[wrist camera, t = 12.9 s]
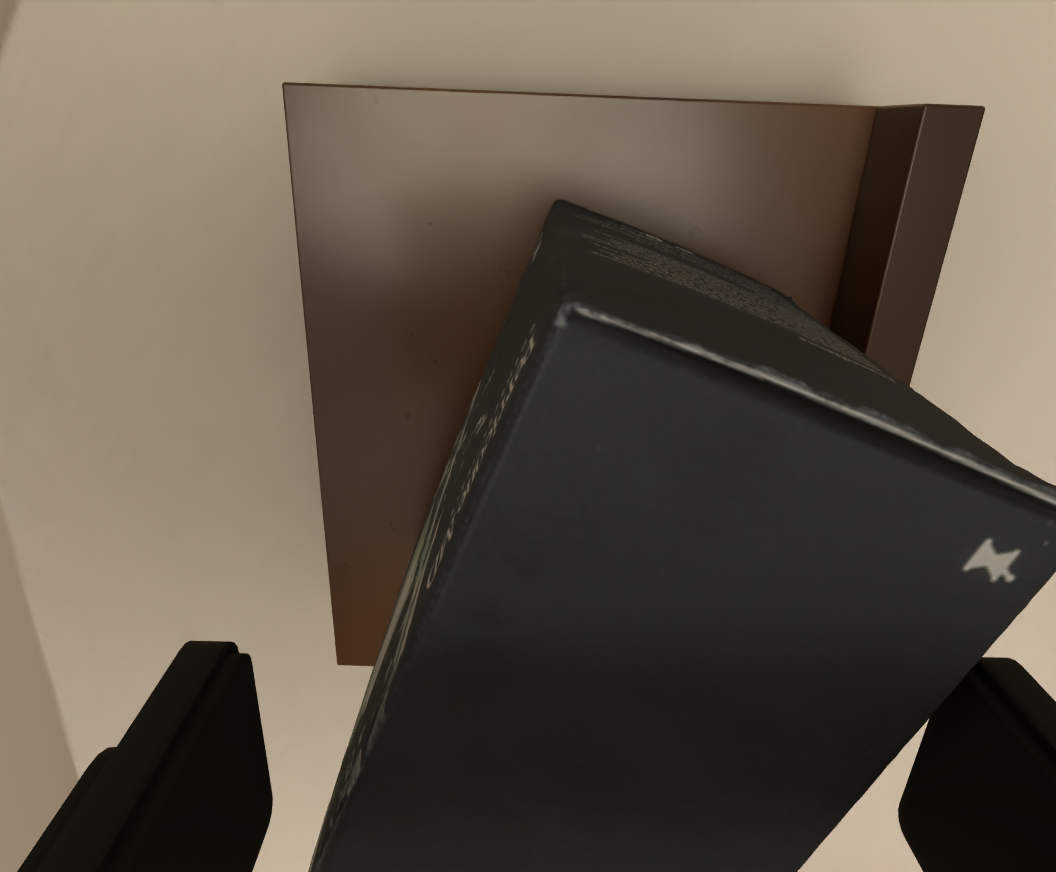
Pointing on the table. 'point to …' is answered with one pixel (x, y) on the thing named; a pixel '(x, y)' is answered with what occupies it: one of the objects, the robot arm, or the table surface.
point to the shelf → (513, 230)
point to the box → (674, 583)
